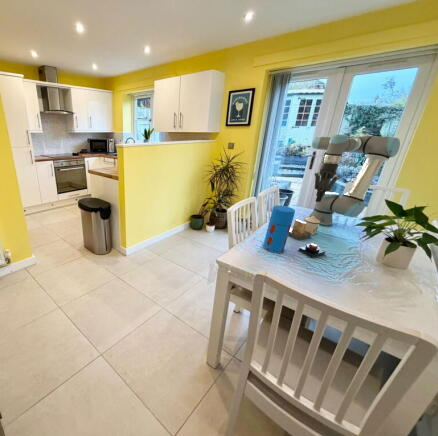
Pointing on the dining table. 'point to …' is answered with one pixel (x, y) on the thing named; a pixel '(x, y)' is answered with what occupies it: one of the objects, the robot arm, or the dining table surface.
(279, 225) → the thermos
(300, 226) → the tan square slab
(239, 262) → the dining table surface
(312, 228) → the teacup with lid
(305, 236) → the brown flat piece
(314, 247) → the button
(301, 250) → the button box
